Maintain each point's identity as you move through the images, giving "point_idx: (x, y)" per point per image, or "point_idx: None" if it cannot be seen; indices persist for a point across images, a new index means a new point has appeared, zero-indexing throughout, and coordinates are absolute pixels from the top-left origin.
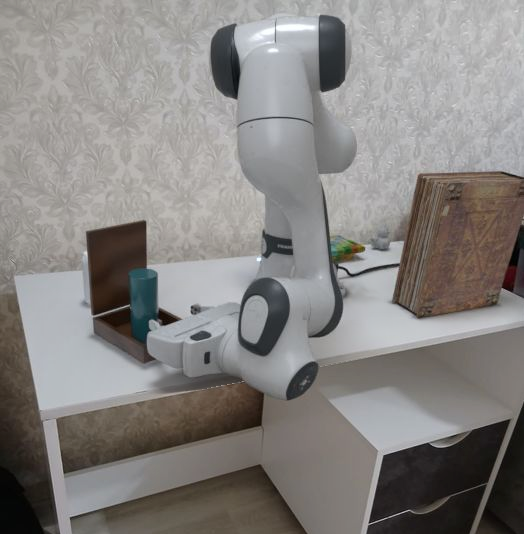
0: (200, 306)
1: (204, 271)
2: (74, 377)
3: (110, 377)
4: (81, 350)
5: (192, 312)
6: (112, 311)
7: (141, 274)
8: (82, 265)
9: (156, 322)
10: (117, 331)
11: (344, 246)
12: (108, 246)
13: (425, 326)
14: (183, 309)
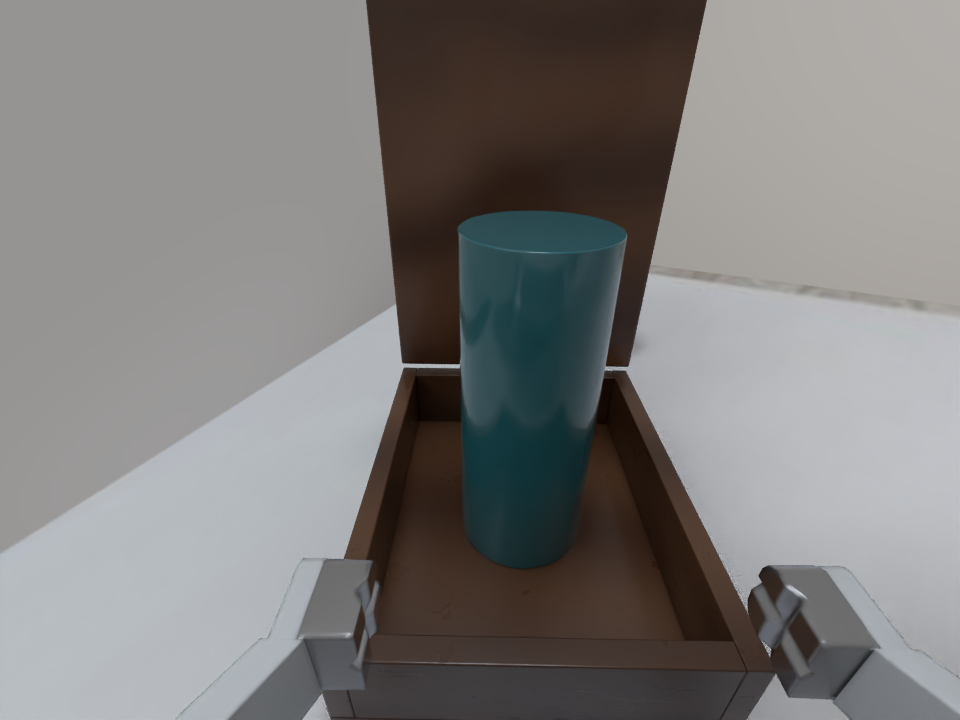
0: (874, 642)
1: (911, 339)
2: (112, 577)
3: (158, 686)
4: (313, 458)
5: (761, 619)
6: None
7: (524, 229)
8: None
9: (284, 634)
10: (378, 460)
11: None
12: (472, 93)
13: None
14: (772, 445)
